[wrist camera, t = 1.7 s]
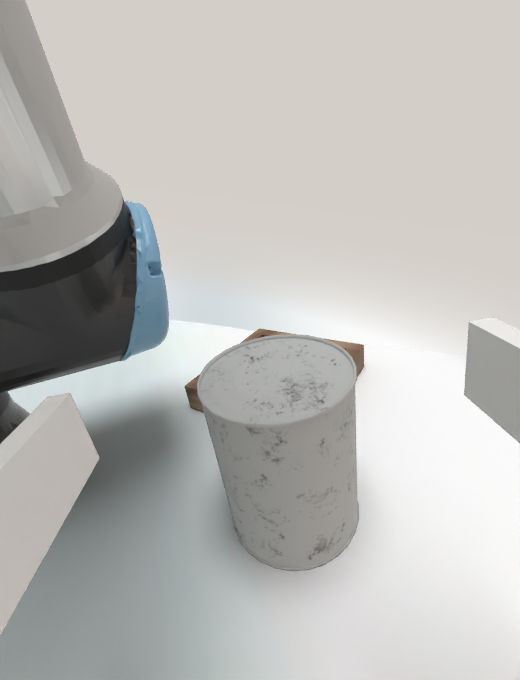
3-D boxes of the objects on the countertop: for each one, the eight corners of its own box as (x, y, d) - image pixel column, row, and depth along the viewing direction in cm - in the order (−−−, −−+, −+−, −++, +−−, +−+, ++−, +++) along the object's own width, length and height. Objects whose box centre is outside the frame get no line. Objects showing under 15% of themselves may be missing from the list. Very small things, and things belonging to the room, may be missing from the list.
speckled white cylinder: (220, 567, 23) (173, 427, 17) (243, 457, 31) (217, 338, 25) (368, 574, 21) (369, 421, 15) (351, 456, 29) (347, 329, 24)
